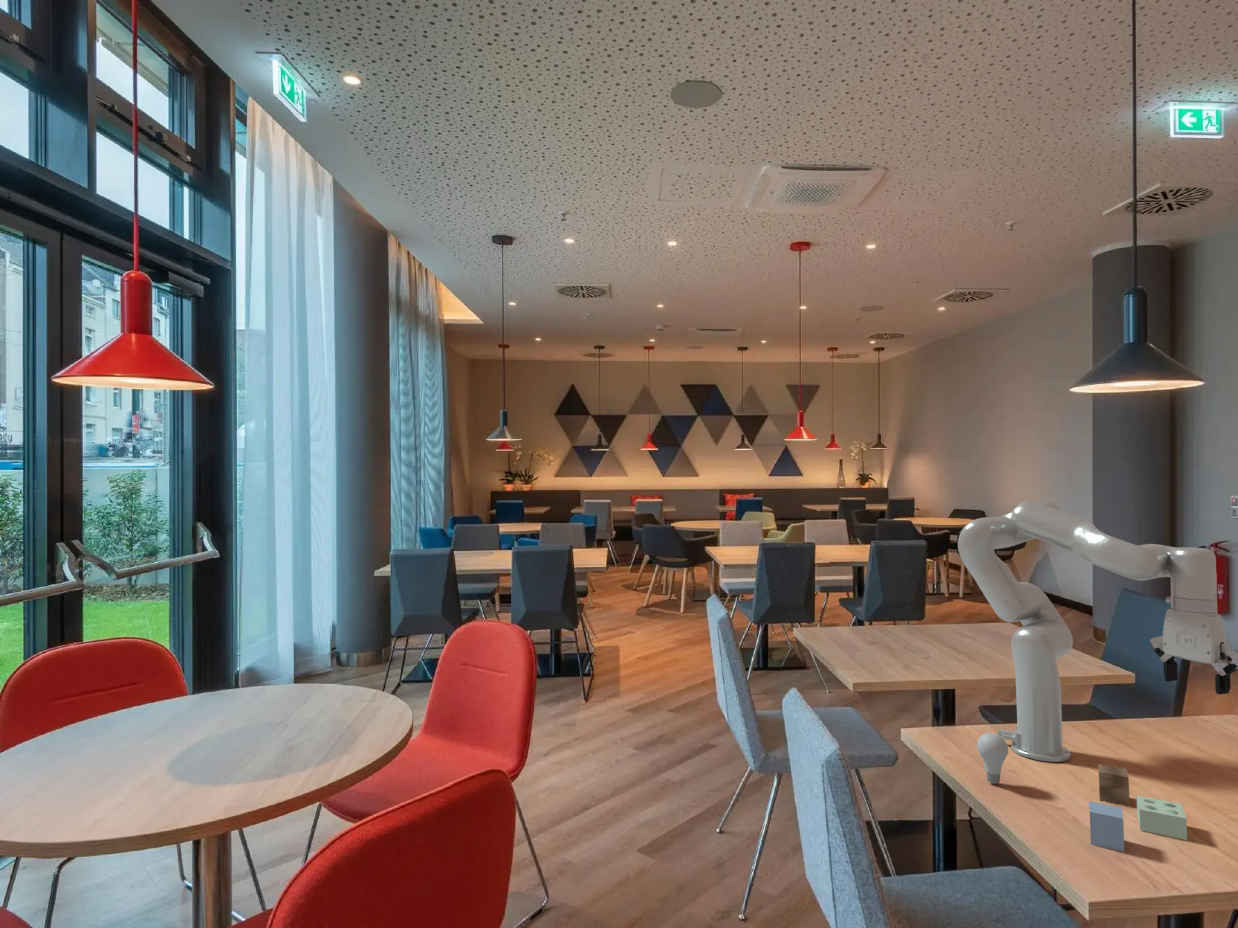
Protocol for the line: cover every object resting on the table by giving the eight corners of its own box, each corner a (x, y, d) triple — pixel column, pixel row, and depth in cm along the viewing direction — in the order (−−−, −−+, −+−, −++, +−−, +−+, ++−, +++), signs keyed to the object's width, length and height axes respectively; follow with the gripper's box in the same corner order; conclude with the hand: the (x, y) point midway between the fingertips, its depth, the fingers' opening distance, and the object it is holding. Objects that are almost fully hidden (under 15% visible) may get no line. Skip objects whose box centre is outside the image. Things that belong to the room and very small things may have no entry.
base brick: (1140, 830, 131) (1139, 809, 131) (1137, 815, 137) (1136, 795, 137) (1187, 840, 127) (1186, 818, 127) (1182, 824, 133) (1181, 803, 133)
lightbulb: (1006, 779, 154) (1004, 730, 154) (1012, 791, 148) (1010, 740, 149) (976, 776, 156) (974, 727, 156) (980, 787, 150) (979, 736, 151)
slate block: (1090, 844, 126) (1089, 811, 127) (1090, 832, 130) (1089, 800, 131) (1124, 852, 124) (1123, 818, 124) (1122, 840, 128) (1121, 807, 128)
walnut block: (1100, 800, 144) (1099, 771, 144) (1099, 791, 148) (1098, 763, 148) (1129, 806, 141) (1128, 777, 141) (1128, 797, 145) (1126, 768, 145)
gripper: (1139, 600, 153) (1141, 677, 152) (1229, 614, 136) (1232, 700, 136) (1162, 598, 155) (1164, 674, 155) (1254, 611, 139) (1256, 696, 138)
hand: (1196, 686), depth 145 cm, fingers open, 9 cm apart
